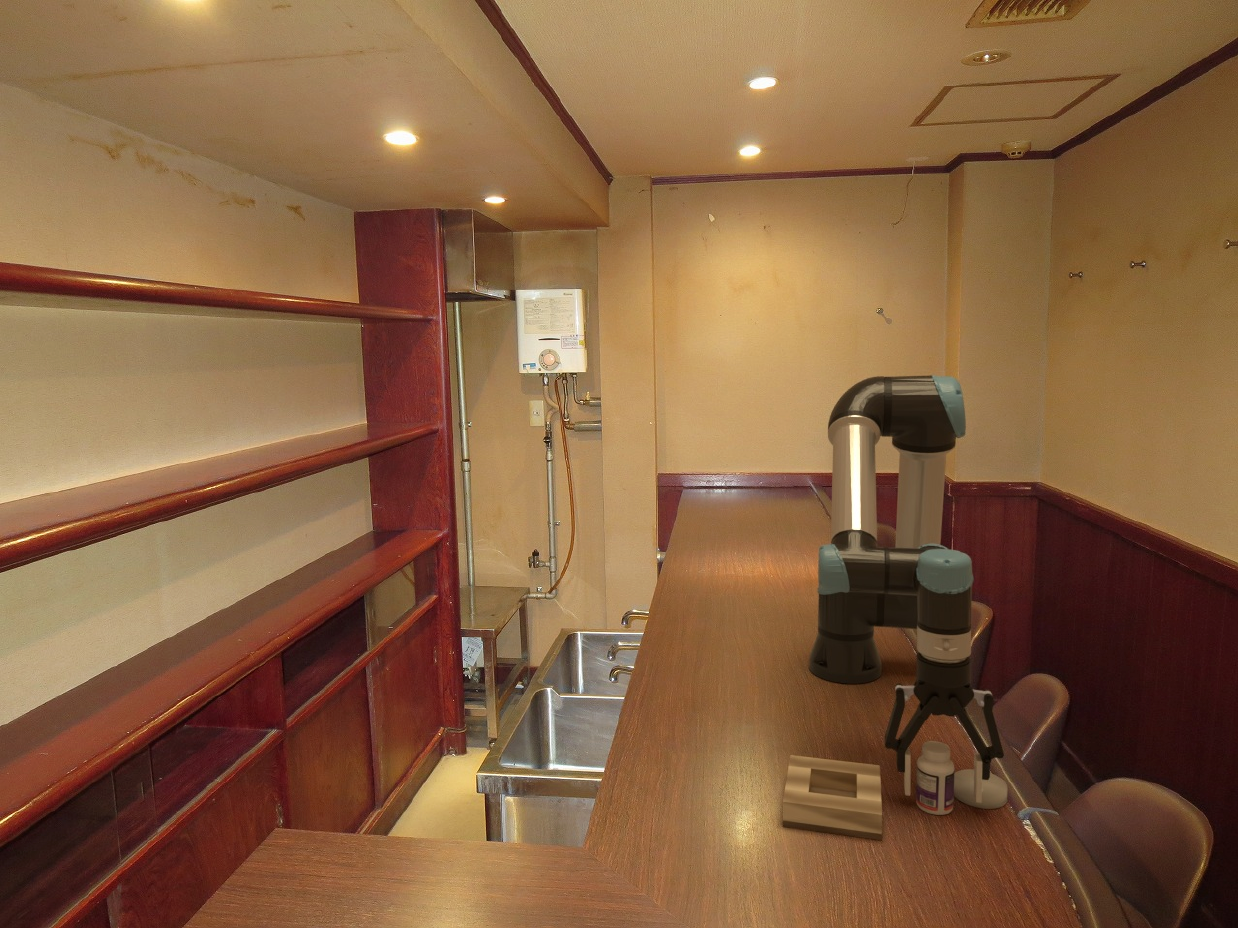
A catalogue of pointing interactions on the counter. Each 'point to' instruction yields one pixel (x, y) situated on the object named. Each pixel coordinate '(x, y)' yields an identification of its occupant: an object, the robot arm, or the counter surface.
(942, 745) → the pill bottle
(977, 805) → the beige oval dome
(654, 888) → the counter surface
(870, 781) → the socket block
